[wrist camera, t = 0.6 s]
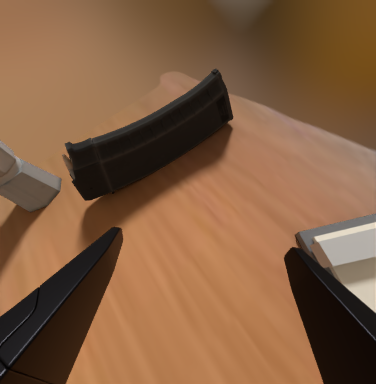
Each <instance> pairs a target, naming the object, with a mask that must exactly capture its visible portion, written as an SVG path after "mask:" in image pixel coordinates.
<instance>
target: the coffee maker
mask: <svg viewBox="0 0 376 384" xmlns="http://www.w3.org/2000/svg"><path fill="white" fill-rule="evenodd" d="M60 187H61V178H59V177H57V176H55V175H53V174H51V173H49V172H47V171H44V170H42V169H40V168H38V167H36V166H34V165H32V164H30V163H28V162H26V161H23V160H21V159H19V158H18V157H16V156H14V153H13V150H11V149H10V148H9V147H7V145H5V144H4V143H3V142H1V141H0V195H2V196H3V197H5V198H7V199H9V200H10V201H12V202H14V203H15V204H17V205H19V206H21V207H22V208H24V209H26V210H27V211H29V212H32V211H35V210H38V209H40V208H43V207H45V206H47V205H48V204H49V203H50V202H51V201H52V200H53V199H54V198H55V196H56V195H57V194H58V193H59V192H60Z"/></svg>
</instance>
